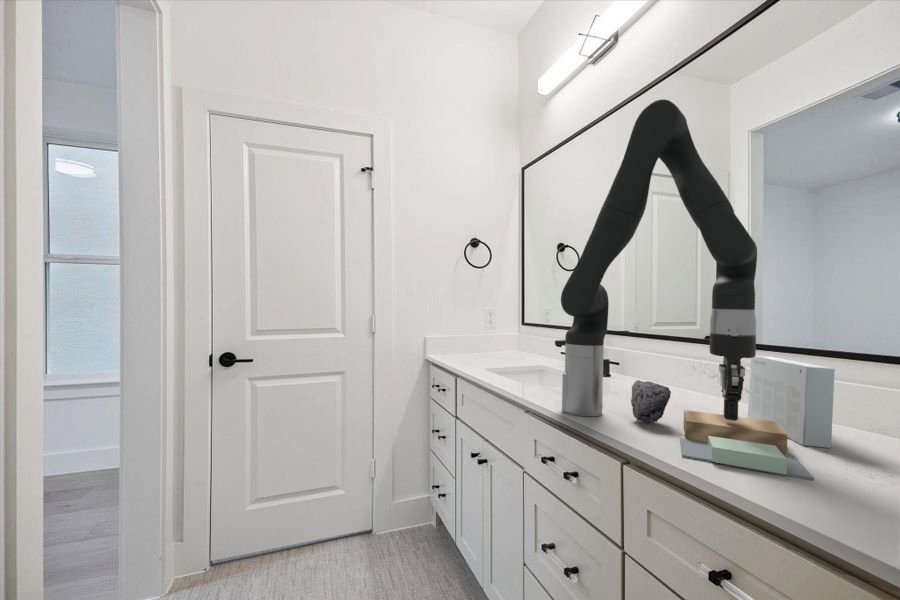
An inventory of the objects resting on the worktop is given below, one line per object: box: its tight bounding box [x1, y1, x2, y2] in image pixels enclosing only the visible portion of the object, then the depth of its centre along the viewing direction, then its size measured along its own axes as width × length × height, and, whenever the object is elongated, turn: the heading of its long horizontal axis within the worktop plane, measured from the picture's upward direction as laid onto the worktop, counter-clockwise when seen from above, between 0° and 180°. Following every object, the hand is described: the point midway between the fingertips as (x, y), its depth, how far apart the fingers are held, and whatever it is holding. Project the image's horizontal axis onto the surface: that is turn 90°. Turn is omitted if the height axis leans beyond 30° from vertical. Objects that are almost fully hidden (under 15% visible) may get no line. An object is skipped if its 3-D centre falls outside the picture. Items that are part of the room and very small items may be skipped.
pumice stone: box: [630, 380, 672, 424], centre depth 93 cm, size 10×8×10 cm
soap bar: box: [708, 436, 787, 476], centre depth 69 cm, size 10×7×2 cm
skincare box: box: [747, 355, 836, 449], centre depth 89 cm, size 21×5×16 cm, turn 168°
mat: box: [679, 437, 815, 481], centre depth 72 cm, size 18×11×1 cm, turn 62°
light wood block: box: [683, 409, 788, 455], centre depth 81 cm, size 16×10×4 cm, turn 62°
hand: (730, 419), depth 79 cm, fingers closed
